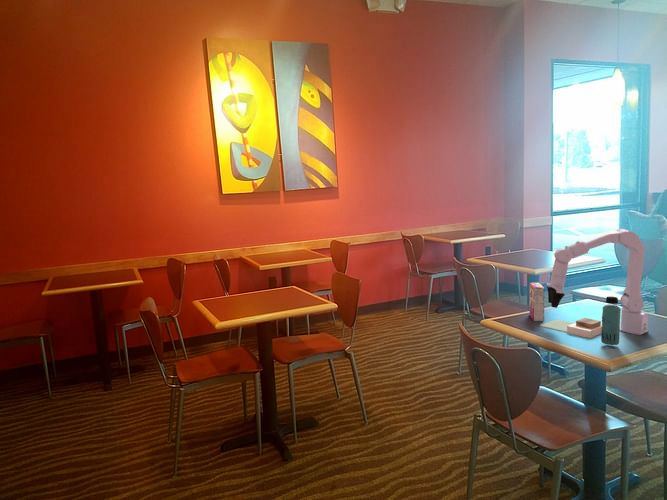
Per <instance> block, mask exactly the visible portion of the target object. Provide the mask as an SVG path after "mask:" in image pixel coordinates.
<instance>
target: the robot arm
mask: <svg viewBox="0 0 667 500" xmlns="http://www.w3.org/2000/svg"><path fill="white" fill-rule="evenodd" d="M610 243H611V244H617V245H618V244H620V245H622V246H623V247H625V248H626V249H627V250H628V251H629V259H628V265H627V266H628V267H627V269H628V270H627V277H626V286H625V288H624V290H623V293H622V296H621V297H620V300H619V301H620V303H621V305H622V307H621V314H620V332H624V333H629V334H634V335H637V336H641V335H643V334H645V333H648V332H649V329H648V328H649V315H648V313H646V312H643V311H642V310H643V308H644V306H645V305H644V301H643V294H642V291H641V286H642V285H641V284H642V278H643V268H644V258H645V251H646V249H645V246H644V244H643V242H642V241H641V239H640V236H639V235H638V234H637V233H636V232H634V231H631V230H628V229H625V228H618V229H617V230H611V231H610V232H606V233H604V234H602V235H600V236H598V237H595V238H593V239H591V240H589V241H588V240H587V241H586V242H585V241H583V240H581V241H580V240H577V241H575V243H573V244H571V245H565V246H564V247H563V248H557V250H556V251H555V253H554V254H553V255H554V262H553V267H552V271H551V276H550V281H549V282H548V283H546V289H547V294H548V295H547V298H548V304H551V305H550V306H551V308H555V309H557V308H558V306H559V304H560V302H561V300H562V299H563V298H564V297H565V295H566V294H565V293H562V292H563V289H565V282H566V278H567V273H568V267H569V262H571V260H572V259H577V258H579V257H582V256H583V255H586V254H588V253H589V251H590V250H591V249H594V248H597V247H600V246H601V247H602V246H603V245H607V244H610Z"/></svg>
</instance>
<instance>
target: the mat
mask: <svg viewBox="0 0 667 500" xmlns="http://www.w3.org/2000/svg"><path fill="white" fill-rule="evenodd" d="M574 323H575V322H570V321H565V320H562V319H553V320H551V321H548V322H545V323H541V324H539V327H543V328H545V329H550V330H555V331H558V332H563V333H567V326H568V325H571V324H574Z"/></svg>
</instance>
